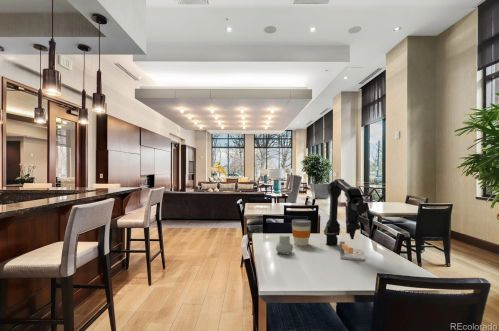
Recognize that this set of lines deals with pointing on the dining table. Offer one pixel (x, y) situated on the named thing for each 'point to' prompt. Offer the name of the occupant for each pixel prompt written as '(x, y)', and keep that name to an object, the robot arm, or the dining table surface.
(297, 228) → the reusable coffee cup
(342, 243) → the cable arm
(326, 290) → the dining table surface
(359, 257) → the chassis board
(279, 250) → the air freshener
